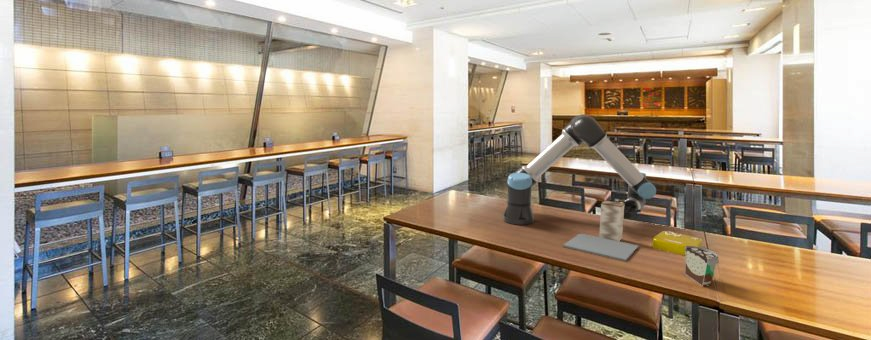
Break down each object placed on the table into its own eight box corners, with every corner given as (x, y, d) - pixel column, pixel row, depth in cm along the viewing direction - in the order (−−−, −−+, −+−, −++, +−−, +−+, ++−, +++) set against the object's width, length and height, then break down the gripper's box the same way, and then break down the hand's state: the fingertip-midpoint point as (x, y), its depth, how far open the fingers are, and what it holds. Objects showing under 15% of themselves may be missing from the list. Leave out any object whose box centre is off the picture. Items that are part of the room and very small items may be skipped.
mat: (563, 246, 161) (563, 244, 160) (579, 235, 175) (580, 233, 175) (625, 261, 145) (625, 259, 145) (638, 247, 160) (638, 245, 159)
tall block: (599, 238, 171) (601, 202, 168) (602, 235, 174) (605, 200, 172) (618, 242, 165) (621, 205, 163) (621, 239, 169) (624, 203, 167)
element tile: (650, 248, 159) (651, 237, 158) (661, 239, 170) (663, 229, 169) (693, 258, 149) (694, 246, 148) (702, 248, 159) (704, 237, 158)
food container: (725, 289, 123) (729, 259, 122) (705, 288, 124) (709, 259, 122) (700, 272, 136) (703, 245, 134) (682, 272, 136) (685, 245, 134)
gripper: (644, 217, 186) (631, 229, 168) (615, 212, 194) (600, 223, 176) (645, 201, 185) (632, 212, 167) (616, 197, 193) (601, 207, 175)
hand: (616, 217), depth 172 cm, fingers closed
